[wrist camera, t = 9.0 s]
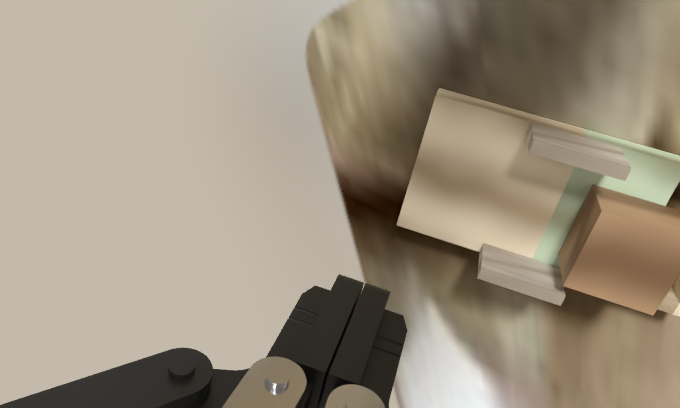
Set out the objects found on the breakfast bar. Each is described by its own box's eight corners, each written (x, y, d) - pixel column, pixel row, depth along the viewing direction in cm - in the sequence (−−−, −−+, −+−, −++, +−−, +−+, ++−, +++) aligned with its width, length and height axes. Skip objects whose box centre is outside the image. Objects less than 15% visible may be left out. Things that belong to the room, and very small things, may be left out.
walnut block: (592, 184, 35) (601, 211, 32) (680, 210, 34) (700, 241, 31) (558, 253, 38) (563, 286, 34) (639, 280, 37) (653, 315, 34)
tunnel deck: (439, 87, 37) (429, 109, 32) (756, 177, 34) (796, 216, 30) (401, 213, 42) (387, 248, 37) (676, 301, 39) (700, 352, 34)
